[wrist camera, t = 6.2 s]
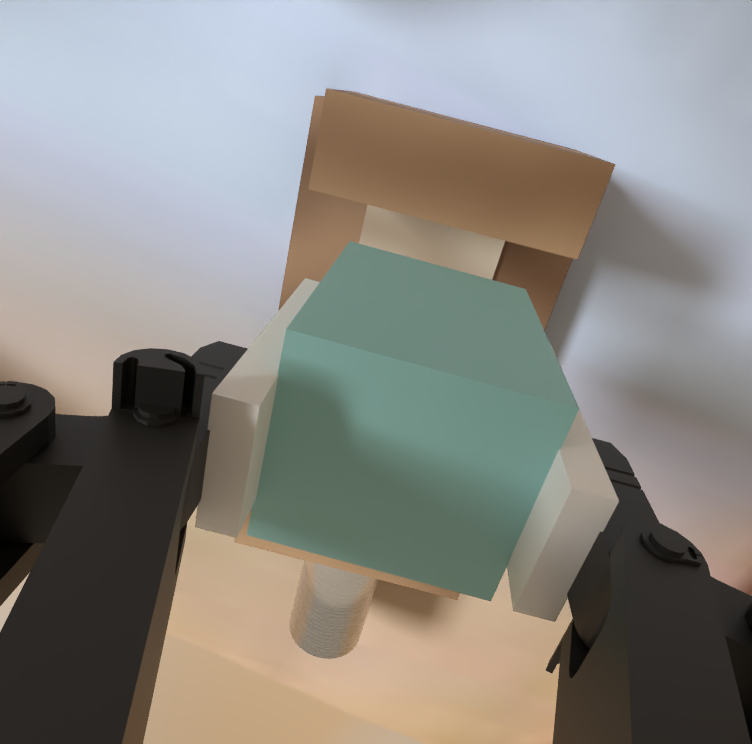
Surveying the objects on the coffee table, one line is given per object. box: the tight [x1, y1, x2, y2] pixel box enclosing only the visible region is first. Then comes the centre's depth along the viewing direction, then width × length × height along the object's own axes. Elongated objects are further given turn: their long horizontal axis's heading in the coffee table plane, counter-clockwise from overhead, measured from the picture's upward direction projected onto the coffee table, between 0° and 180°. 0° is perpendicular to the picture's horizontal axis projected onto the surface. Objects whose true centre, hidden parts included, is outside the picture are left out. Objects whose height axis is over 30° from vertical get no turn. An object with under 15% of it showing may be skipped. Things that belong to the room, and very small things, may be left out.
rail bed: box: [234, 89, 615, 600], centre depth 25 cm, size 22×12×8 cm, turn 167°
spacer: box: [247, 241, 579, 601], centre depth 14 cm, size 4×5×7 cm
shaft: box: [290, 560, 378, 658], centre depth 30 cm, size 12×4×4 cm, turn 167°
